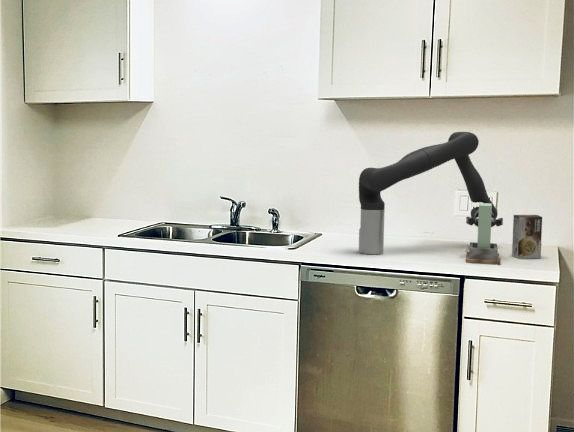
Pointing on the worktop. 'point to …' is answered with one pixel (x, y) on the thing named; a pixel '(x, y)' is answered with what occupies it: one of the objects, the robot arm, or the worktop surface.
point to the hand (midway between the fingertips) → (484, 224)
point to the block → (484, 225)
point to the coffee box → (527, 236)
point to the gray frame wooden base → (483, 254)
